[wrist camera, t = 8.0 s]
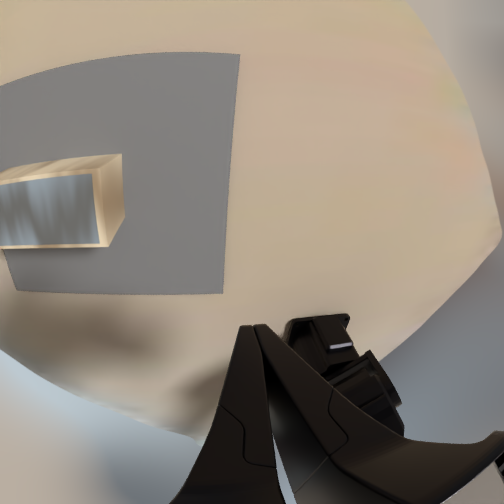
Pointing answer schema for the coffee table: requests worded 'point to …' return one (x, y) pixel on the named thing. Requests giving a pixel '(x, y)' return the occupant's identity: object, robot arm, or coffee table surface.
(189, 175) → the mat
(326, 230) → the coffee table surface
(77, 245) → the birch block
